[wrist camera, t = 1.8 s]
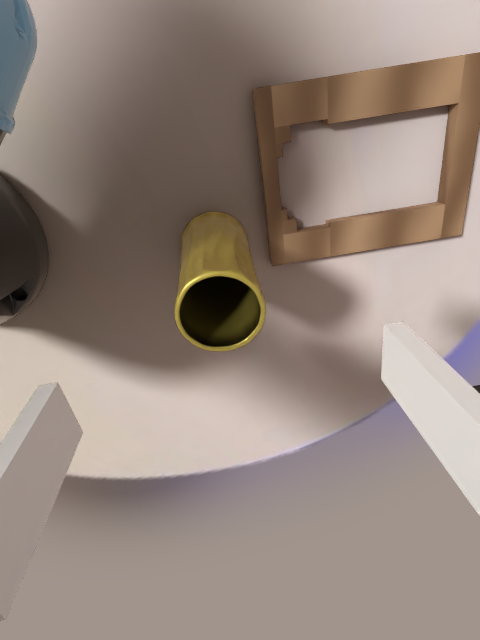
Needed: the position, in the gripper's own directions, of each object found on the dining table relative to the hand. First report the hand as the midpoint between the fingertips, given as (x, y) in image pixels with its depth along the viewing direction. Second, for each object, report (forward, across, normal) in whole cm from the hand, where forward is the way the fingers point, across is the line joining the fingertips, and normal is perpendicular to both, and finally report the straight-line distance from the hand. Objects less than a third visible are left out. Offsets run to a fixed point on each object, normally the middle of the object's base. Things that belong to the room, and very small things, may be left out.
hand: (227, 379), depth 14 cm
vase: (+21, 0, 0) cm, 21 cm away
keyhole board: (+20, +14, +4) cm, 25 cm away
